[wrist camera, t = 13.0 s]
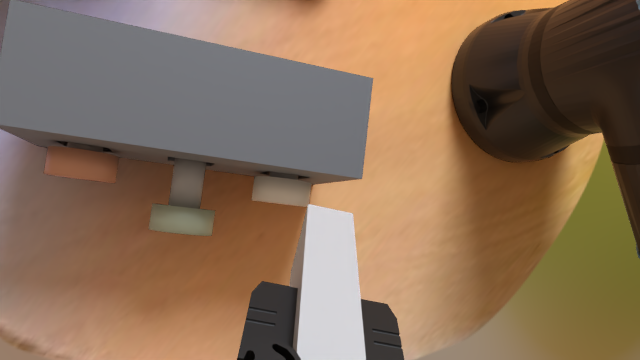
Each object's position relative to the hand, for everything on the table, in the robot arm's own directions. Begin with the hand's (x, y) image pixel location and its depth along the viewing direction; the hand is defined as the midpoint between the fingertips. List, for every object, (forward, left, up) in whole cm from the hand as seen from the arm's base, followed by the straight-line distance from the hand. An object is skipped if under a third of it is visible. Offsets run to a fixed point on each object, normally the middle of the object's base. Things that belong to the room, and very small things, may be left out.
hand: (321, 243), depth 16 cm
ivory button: (-2, -5, -23) cm, 24 cm away
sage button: (+4, -1, -23) cm, 23 cm away
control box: (+5, -6, -26) cm, 27 cm away
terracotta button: (+11, -2, -23) cm, 26 cm away
